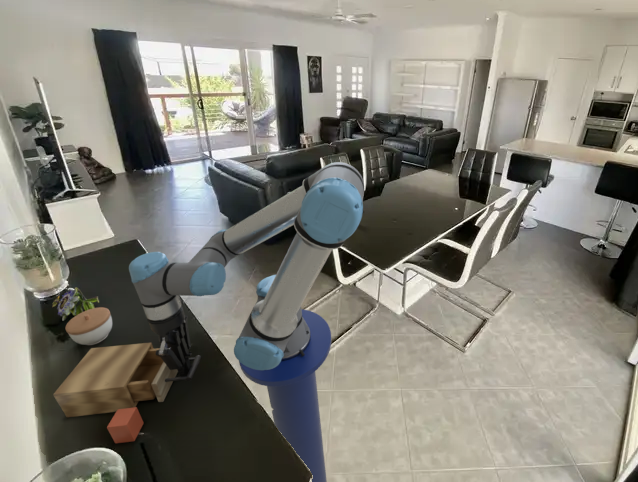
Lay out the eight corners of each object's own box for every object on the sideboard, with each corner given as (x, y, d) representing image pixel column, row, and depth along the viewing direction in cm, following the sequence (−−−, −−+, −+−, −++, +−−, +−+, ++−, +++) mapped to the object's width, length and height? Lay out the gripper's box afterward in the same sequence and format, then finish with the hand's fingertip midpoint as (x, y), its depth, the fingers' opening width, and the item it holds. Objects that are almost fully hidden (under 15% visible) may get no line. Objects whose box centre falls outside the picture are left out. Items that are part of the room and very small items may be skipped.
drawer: (207, 358, 95) (202, 341, 92) (190, 398, 84) (184, 380, 81) (129, 366, 93) (122, 349, 90) (102, 408, 81) (92, 390, 79)
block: (144, 422, 79) (136, 406, 77) (134, 441, 75) (126, 425, 73) (125, 425, 79) (117, 409, 76) (115, 443, 75) (106, 427, 72)
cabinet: (159, 363, 94) (151, 342, 91) (134, 409, 82) (123, 386, 79) (101, 369, 92) (91, 348, 89) (66, 417, 80) (52, 394, 77)
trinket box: (116, 341, 102) (106, 318, 98) (72, 357, 96) (60, 333, 93) (117, 320, 110) (108, 298, 106) (77, 334, 104) (65, 311, 101)
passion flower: (72, 330, 113) (47, 304, 111) (106, 307, 120) (83, 282, 118) (70, 329, 105) (43, 301, 103) (107, 305, 112) (83, 279, 110)
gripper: (161, 294, 85) (183, 358, 94) (133, 332, 73) (162, 401, 82) (191, 292, 86) (209, 355, 95) (168, 329, 74) (193, 397, 83)
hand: (187, 377), depth 89 cm, fingers closed
